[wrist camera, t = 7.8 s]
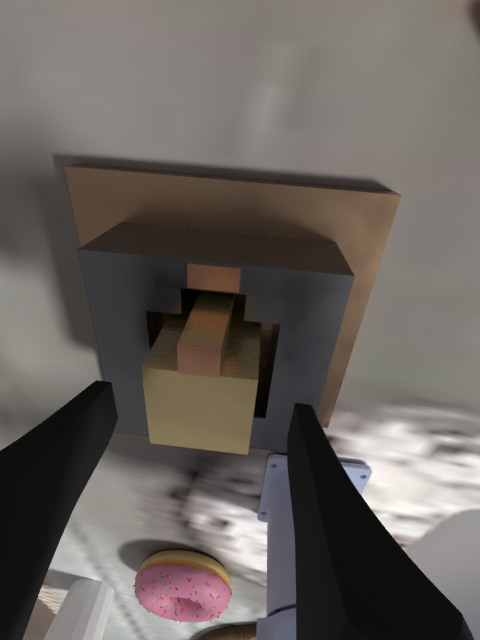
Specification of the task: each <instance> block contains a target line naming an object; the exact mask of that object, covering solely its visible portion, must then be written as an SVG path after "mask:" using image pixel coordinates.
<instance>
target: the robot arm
mask: <svg viewBox="0 0 480 640" xmlns="http://www.w3.org/2000/svg"><path fill="white" fill-rule="evenodd" d="M117 420H118V414H117V409H116V404H115V399H114V393H113V388H112V383H111V382H105V381H95V382H94V383H92V384H91V385H90V386H88V387H87V388H86V389H85V390H83V391H82V392H81V393H80V394H78V395H77V396H76V397H75V398H73V399H72V400H71V401H69V402H68V403H67V404H66V405H64V406H63V407H62V408H60V409H59V410H58V411H57V412H55V413H54V414H53V415H51V416H50V417H49V418H47V419H46V420H45V421H43V422H42V423H41V424H39V425H38V426H36V427H35V428H34V429H32V430H31V431H29V432H28V433H26V434H25V435H24V436H22V437H21V438H19V439H18V440H16V441H15V442H13V443H12V444H10V445H9V446H7V447H6V448H4V449H2V450H1V451H0V640H22V639H23V636H24V633H25V630H26V627H27V625H28V622H29V619H30V616H31V613H32V611H33V608H34V605H35V602H36V600H37V597H38V594H39V592H40V589H41V587H42V584H43V581H44V579H45V576H46V573H47V571H48V568H49V566H50V563H51V561H52V558H53V556H54V553H55V551H56V548H57V546H58V544H59V541H60V539H61V536H62V534H63V532H64V529H65V527H66V525H67V522H68V520H69V518H70V516H71V513H72V511H73V509H74V507H75V505H76V503H77V501H78V499H79V497H80V495H81V493H82V492H83V490H84V488H85V486H86V484H87V482H88V480H89V479H90V477H91V475H92V473H93V471H94V469H95V468H96V466H97V464H98V462H99V460H100V458H101V457H102V455H103V453H104V451H105V449H106V447H107V445H108V443H109V441H110V438H111V436H112V434H113V431H114V428H115V426H116V423H117ZM371 473H372V471H371V468H370V466H368V465H362V464H354V463H345V462H340V461H339V459H338V457H337V456H336V454H335V452H334V450H333V448H332V446H331V445H330V443H329V441H328V439H327V437H326V435H325V433H324V431H323V429H322V426H321V424H320V422H319V420H318V418H317V415H316V413H315V411H314V408H313V406H312V405H310V404H301V403H295V405H294V410H293V414H292V419H291V423H290V428H289V432H288V437H287V456H285V455H277V454H272V455H270V456H269V457H268V461H267V466H266V472H265V477H264V482H263V488H262V493H261V499H260V504H259V510H258V517H257V518H258V520H259V521H261V522H268V524H267V617H266V618H258V619H257V635H256V637H253V638H251V639H250V640H474V638H473V636H472V633H471V631H470V630H469V628H468V625H467V623H466V622H465V620H464V617H463V615H462V613H461V612H460V611H459V610H458V609H457V608H456V607H455V606H454V605H453V604H452V603H451V602H450V601H449V600H448V599H447V598H446V597H445V596H444V595H443V594H442V593H441V592H440V591H439V590H438V589H437V587H436V586H435V585H434V584H433V583H432V582H431V581H430V580H429V579H428V578H427V577H426V576H425V575H424V573H423V572H422V571H421V570H420V569H419V568H418V567H417V566H416V564H415V563H414V562H413V561H412V560H411V559H410V558H409V557H408V555H407V554H406V553H405V552H404V551H403V549H402V548H401V547H400V546H399V544H398V543H397V542H396V541H395V540H394V538H393V537H392V536H391V535H390V533H389V532H388V531H387V530H386V529H385V527H384V526H383V525H382V523H381V522H380V521H379V519H378V518H377V517H376V515H375V514H374V513H373V511H372V510H371V509H370V507H369V506H368V505H367V503H366V502H365V500H364V499H363V497H362V496H361V494H362V492H363V490H364V488H365V486H366V484H367V482H368V480H369V478H370V476H371Z"/></svg>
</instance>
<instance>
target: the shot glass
mask: <svg viewBox="0 0 480 640" xmlns="http://www.w3.org/2000/svg"><path fill="white" fill-rule="evenodd" d="M113 594H114V591H113V588H111V587H110V586H109V585H107V584H105V583H103V582H100V581H97V580H93V579H77V580H74V582H73V584H72V586H71V588H70V589H69V591H68V593H67V595H66V597H65V599H64V601H63V603H62V605H61V607H60V609H59V611H58V613H57V615H56V617H55V619H54V621H53V622H52V624H51V626H50V628H49V630H48V632H47V634H46V636H45V638H44V640H102V636H103V632H104V628H105V625H106V621H107V617H108V613H109V609H110V605H111V602H112V598H113Z"/></svg>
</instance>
